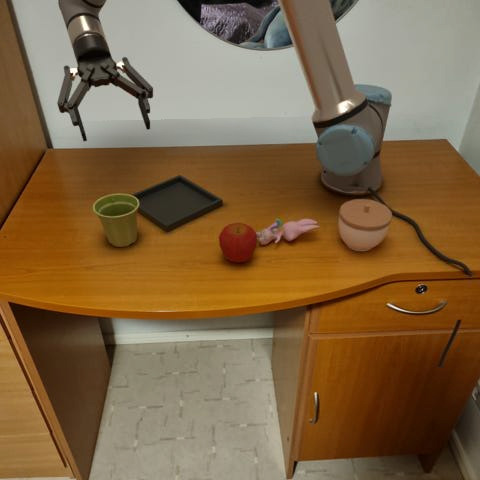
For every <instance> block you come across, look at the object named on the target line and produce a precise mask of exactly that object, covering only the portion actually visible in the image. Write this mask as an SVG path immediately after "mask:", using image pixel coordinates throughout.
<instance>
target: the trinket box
mask: <svg viewBox="0 0 480 480" xmlns="http://www.w3.org/2000/svg"><path fill="white" fill-rule="evenodd" d="M387 206H388V205H387ZM387 206H385V205H383V204H382V203H380V202H379V201H378V200H377V201H376V200H374V199H368V198H356V199H351V200H348V201H345V202H344V203H343V204H342V205H341V206H340V207H339V211H338V213H339V214H338V223H337V224H338V227H337V228H338V233H339V236H340V238H341V240H342V241H343V242H344V244H345V246H346V247H347V248H348V249H351V250H353V251H356V252H367V251H370V250H372V249H373V248H375V247H377V246H378V245H379V244H381V243H382V241H383V240H384V239H385V237H386V236H387V234H388V231H389V228H390V225H391V223H392V221H393V214H392V213H391V211H390V209H389V208H390V207H389V206H388V207H389V208H388V207H387Z"/></svg>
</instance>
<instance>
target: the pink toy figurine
mask: <svg viewBox="0 0 480 480" xmlns="http://www.w3.org/2000/svg"><path fill="white" fill-rule="evenodd" d="M274 221H275V222H274V223H272V224H271V225H269V226H267V228H263V229H261V230H260V231H255V233H256V235H257V242H259V245H261V246H266V245H268V244H269V243H271V241H274V244H278V243H279V242H280V240H281V238H283V239H284V240H286V241H288V242H291V241H293V240H295V239H297V238H298V237H300V235H301V234H302V235H303V234H304V233H306V232H310V231H311V230H313V229H319V228H320V227H321V226H320V225H318V221H316V220H314V219H311V218H303V219H302V218H301V219H298V220H297V221H294V220H290V221H287V222H286V223H284V224H283V221H282V219H281V218H275V219H274ZM282 224H283V225H282ZM281 226H282V227H281ZM280 227H281V230H278V229H279V228H280Z"/></svg>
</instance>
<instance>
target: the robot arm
mask: <svg viewBox="0 0 480 480" xmlns="http://www.w3.org/2000/svg"><path fill="white" fill-rule="evenodd" d="M57 1H58V2H57V4H58V8H59V10H60V13H61V15H62V19H63V22H64V25H65V28H66V31H67V34H68V37H69V41H70V44H71V48H72V51H73V54H74V58H75V61H76V64H77V67H73V68H72V67H70V66H69V65H64V66H63V72H64V77H63V80H62V84H61V87H60V91H59V95H58V99H57V102H56V104H57V107H58V110H59V113H61V114H65V113H66V114H67V113H68V114H69V117H70V121H71V125H72V126H73V127H78V129H79V131H80V132H79V133H80V135H81V138H82V142H88V139H87V134H86V131H85V128H84V124H83V120H82V117H81V114H80V111H79V107H80V104H81V103H82V101H83V100H84V98H85V96H86V94H87V93H88V92H90V90H91V89H92V87H94V88H99V87H103V86H110V84H111V85H113V86H114V87H117V88H120V89H121V90H123V91H124V92H126V93H127V94H129V95H130V96H132V97H134V98H135V99H137V101H138V102H137V104H138V108H139V111H140V113H141V117H142V120H143V123H144V125H145V129H146V130H151V121H150V120H151V119H150V116H149V114H151V105H150V101H149V99H153V98H154V87H153V86H152V85H151V84H150V83H149V82H148V81H147V80H146V79H145V78H144V77H143V76H142V75H141V74H140V72H138V71H137V70H136V69H135V68H134V67H133V66H132V65H131V63H130V61H129V59H128V57H127V56H123V57H122V60H120V61H115V60H114V59H113V57H112V53H111V50H110V48H109V45H108V42H107V38H106V35H105V32H104V29H103V25H102V22H101V19H100V15H99V14H100V12H101V11H102V9H103V7H104V6H105V4H106V3H107V1H108V0H57ZM277 3H278V6H279V8H280V12H281V14H282V17H283V20H284V22H285V23H284V24H285V25H286V28H287V31H288V35H289V37H290V40H291V43H292V45H293V48H294V50H295V54H296V57H297V60H298V62H299V65H300V68H301V71H302V74H303V77H304V80H305V81H306V85H307V88H308V91H309V94H310V97H311V100H312V102H313V105H314V110H313V113H312V115H311V117H310V118H311V122H312V125H313V128H314V131H315V133H316V136H317V141H316V143H315V156H316V159H317V161H318V163H319V165H320V166H321V168H322V170H321V175H320V183H321V184H322V186H323V187H324V188H326V190H328V191H330V192H332V193H334V194H337V195H340V196H345V197H355V198H356V197H365V196H370V195H372V196H373V197H374V198H375V199H376V200H377V202H379V203H382V204H383V205H385V206H387V207H388V208H389V209H390V211H391V213H392V216H393V215H394V216H396V217H397V218H400V219H403V220H404V221H407V222H408V223H410V224H411V225H412V226H413V227H414V228H415V230H416V232H417V235H418V237H419V238H420V240H421V241H422V242H423V243H424V246H426V247H427V248H428V249H429V250H430V251H431V252H432V253H433V254H435V255H436V256H437V257H438V258H440V259H441V260H443V261H445V262H447V263H450V264H453V265H456V266H458V267H461V269H463V270H464V271H465V273H466V275H467V276H468V277H473V274H472V271H471V269H470V268H469V267H468V266H467V265H466V264H465V263H464V262H462V261H459V260H456V259H453V258H451V257H447V256H446V255H444V254H443V253H441V252H440V251H439V250H437V249H436V248H435V247H434V246H433V245H432V244H431V243H430V242H429V241H428V240H427V239H426V237H425V236H424V235H423V231H421V228H420V226H419V225H418V223H417V222H416V221H415V220H414V219H413V218H411V217H410V216H407V215H404V214H402V213H400V212H397V211H396V210H393V209H392V208H391V207H389V206H388V205H387V204H386V202H385V201H384V200H383V199H382V197H380V195H378V193H377V192H378V191H379V190H380V188H381V187H382V182H383V173H382V165H381V151H382V146H383V143H384V136H385V131H386V128H387V122H388V118H389V113H390V109H391V107H392V100H393V94H392V92H391V91H390V90H389V89H387V88H385V87H382V86H377V85H371V84H363V83H362V84H361V83H354V79H353V76H352V72H351V70H350V66H349V63H348V59H347V55H346V53H345V49H344V47H343V46H344V45H343V43H342V40H341V37H340V33H339V29H338V26H337V22H336V19H335V16H334V13H333V9H332V6H331V2H330V0H277ZM118 70H120V72H122V74H125V75H126V77H128V78H126V77H125V76H123V75H121V73H120V72H119V71H118ZM77 76H78V77H79V78H80V81H79V83H78V84H77V86H76V88H75V90H74V91H73V93H72V94H71V92H72V88H73V82H74V81H75V79H76V77H77ZM70 96H71V97H70ZM462 321H463V319H460V318H459V319H457V321H456V323H455V325H454V328H453V330H452V333H451V335H450V337H449V339H448V341H447V344H446V345H445V347H444V350H443V352H442V354H441V357H440V359H439V361H438V364H437V368H442V366H443V363H444V361H445V358H446V356H447V354H448V352H449V350H450V348H451V346H452V343H453V342H454V339H455V337H456V335H457V334H458V331H459V328H460V326H461V323H462Z"/></svg>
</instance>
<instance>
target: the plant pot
mask: <svg viewBox="0 0 480 480" xmlns="http://www.w3.org/2000/svg"><path fill="white" fill-rule="evenodd" d="M138 207H139V200H138V199H137V198H136V197H134V196H132V194H128V193H111V194H106V195H105V196H102V197H100V198H98V199H97V200H96V201H95V202H94V203H93V205H92V210H93V212H94V213H95V214H96V216H97V217H98V219H99V221H100V223H101V225H102V227H103V231H104V233H105V235H106V238H107V241H108V242H109V244H111V245H112V246H113V247H117V248H124V247H125V248H126V247H129V246H130V245H131V244H135V243H136V241H137V239H138V218H137V217H138V212H137V211H138Z"/></svg>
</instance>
